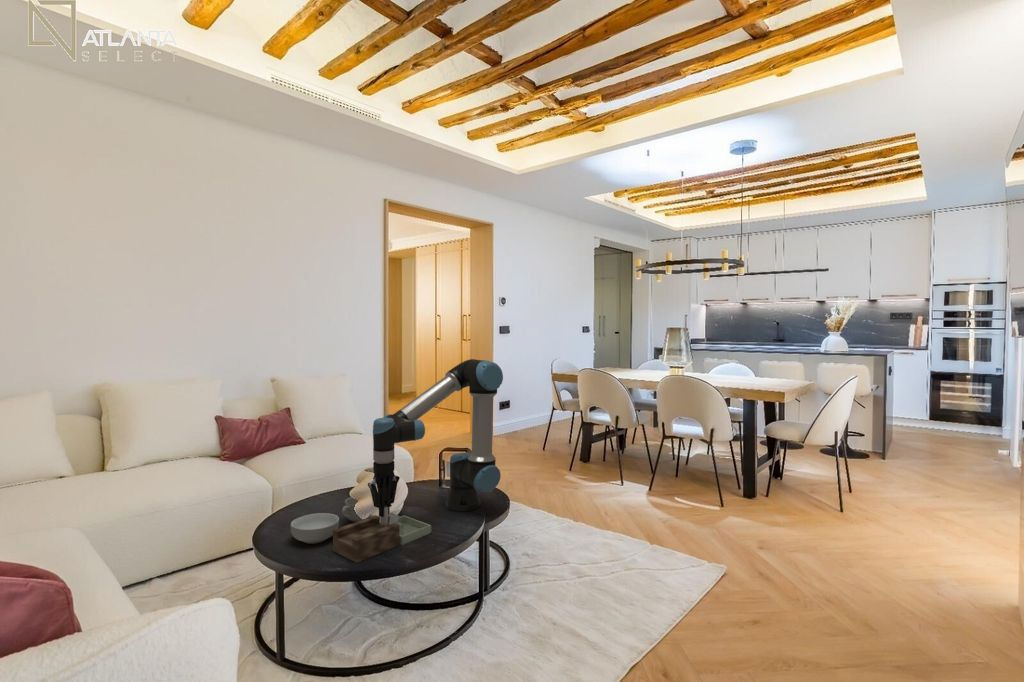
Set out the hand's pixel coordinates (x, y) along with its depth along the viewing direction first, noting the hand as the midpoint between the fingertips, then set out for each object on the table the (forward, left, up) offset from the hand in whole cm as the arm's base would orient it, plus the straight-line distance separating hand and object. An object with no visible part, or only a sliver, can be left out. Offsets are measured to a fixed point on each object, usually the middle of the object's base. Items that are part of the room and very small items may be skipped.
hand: (384, 524), depth 190 cm
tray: (-9, 0, -6) cm, 11 cm away
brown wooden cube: (-3, 0, -1) cm, 3 cm away
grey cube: (-3, 0, -4) cm, 5 cm away
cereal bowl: (+15, -21, -7) cm, 27 cm away
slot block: (+8, 0, -6) cm, 10 cm away
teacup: (-5, -25, -7) cm, 26 cm away
